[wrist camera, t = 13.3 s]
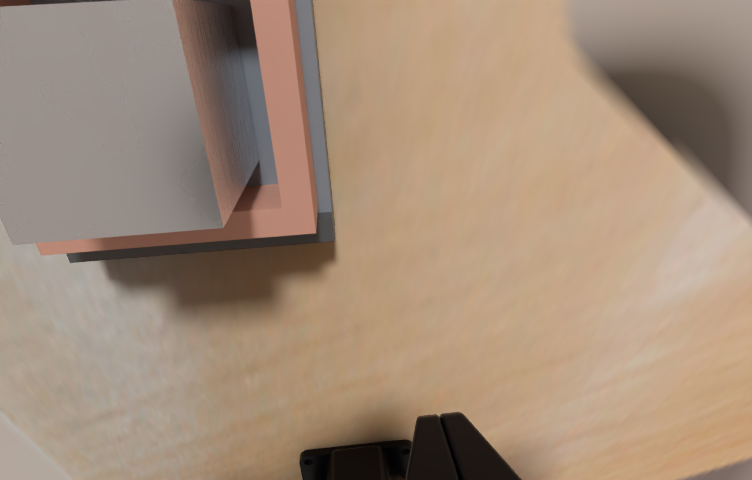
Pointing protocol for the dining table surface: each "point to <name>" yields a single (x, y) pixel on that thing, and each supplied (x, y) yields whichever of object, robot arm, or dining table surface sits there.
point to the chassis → (274, 142)
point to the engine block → (121, 119)
